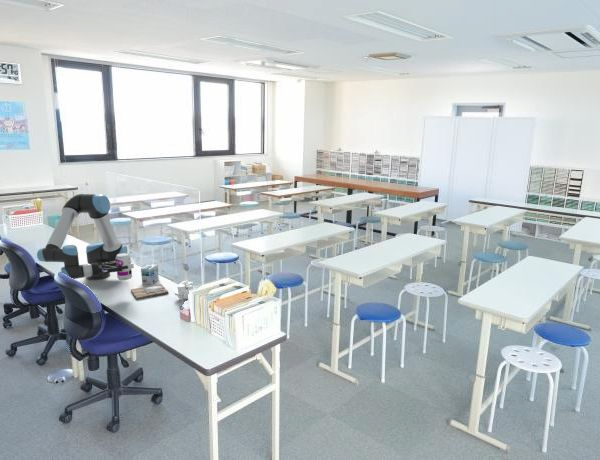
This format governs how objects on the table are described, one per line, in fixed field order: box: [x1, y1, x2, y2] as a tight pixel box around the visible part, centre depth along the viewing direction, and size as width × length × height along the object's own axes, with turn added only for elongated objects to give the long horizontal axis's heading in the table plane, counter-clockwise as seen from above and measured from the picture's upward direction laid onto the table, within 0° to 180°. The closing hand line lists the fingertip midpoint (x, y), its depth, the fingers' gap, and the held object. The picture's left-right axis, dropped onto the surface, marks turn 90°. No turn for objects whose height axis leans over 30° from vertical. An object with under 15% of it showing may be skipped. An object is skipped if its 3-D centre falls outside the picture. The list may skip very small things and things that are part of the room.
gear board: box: [130, 283, 169, 301], centre depth 280 cm, size 16×19×2 cm
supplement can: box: [116, 252, 133, 281], centre depth 270 cm, size 8×8×15 cm
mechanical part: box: [174, 279, 196, 302], centre depth 268 cm, size 11×12×12 cm
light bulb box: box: [140, 263, 160, 286], centre depth 298 cm, size 11×7×11 cm, turn 168°
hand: (132, 263), depth 272 cm, fingers closed on supplement can, 8 cm apart
